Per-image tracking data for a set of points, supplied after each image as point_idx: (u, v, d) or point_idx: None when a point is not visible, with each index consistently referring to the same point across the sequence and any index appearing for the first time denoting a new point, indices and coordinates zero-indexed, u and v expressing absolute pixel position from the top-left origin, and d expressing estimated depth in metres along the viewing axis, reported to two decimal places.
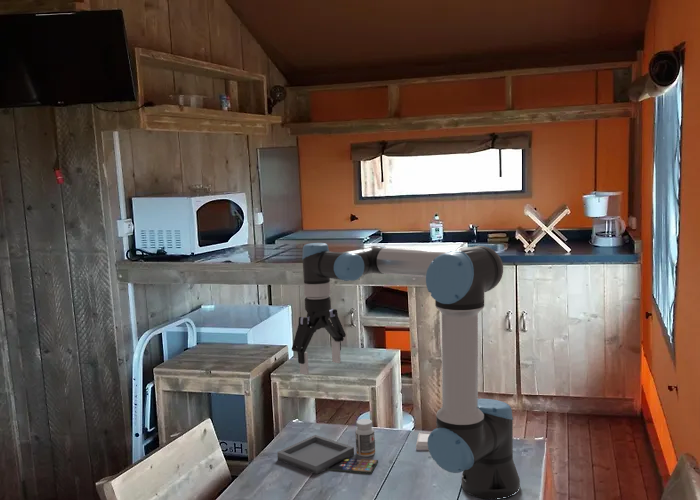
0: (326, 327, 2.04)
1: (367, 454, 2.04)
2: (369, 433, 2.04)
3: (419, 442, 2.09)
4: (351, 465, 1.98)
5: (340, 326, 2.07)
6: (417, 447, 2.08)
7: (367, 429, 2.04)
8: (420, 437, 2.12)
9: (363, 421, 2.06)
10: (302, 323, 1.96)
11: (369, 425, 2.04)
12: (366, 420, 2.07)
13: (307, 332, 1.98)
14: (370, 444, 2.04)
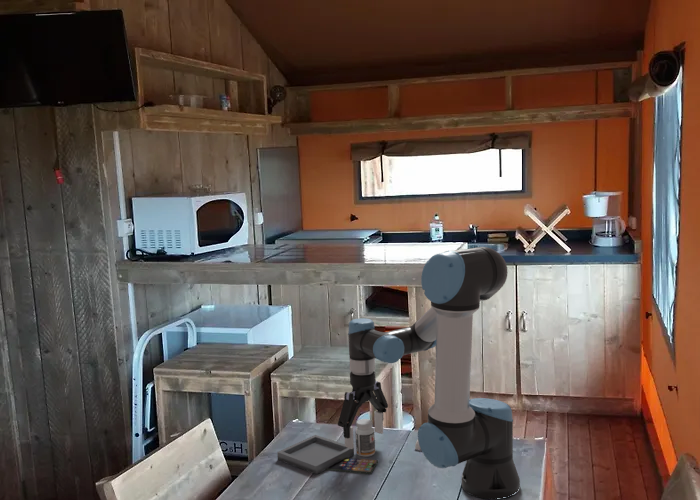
0: (370, 399, 2.08)
1: (367, 454, 2.04)
2: (369, 433, 2.04)
3: (418, 442, 2.09)
4: (351, 465, 1.98)
5: (383, 398, 2.10)
6: (416, 447, 2.08)
7: (367, 429, 2.04)
8: None
9: (363, 421, 2.06)
10: (348, 399, 2.00)
11: (369, 425, 2.04)
12: (366, 420, 2.07)
13: (352, 407, 2.02)
14: (370, 444, 2.04)
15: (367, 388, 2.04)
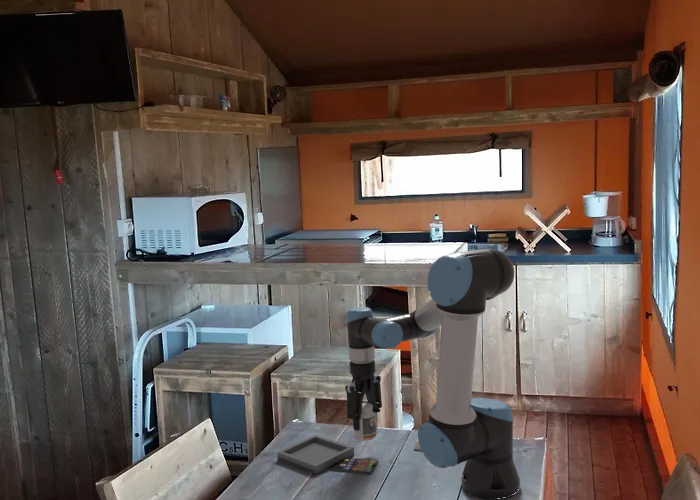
0: (367, 393, 2.06)
1: (368, 438, 2.03)
2: (370, 416, 2.03)
3: (417, 442, 2.09)
4: (351, 465, 1.98)
5: (379, 395, 2.08)
6: (415, 446, 2.09)
7: (367, 412, 2.03)
8: None
9: (363, 405, 2.05)
10: (350, 392, 1.99)
11: (369, 408, 2.03)
12: (366, 404, 2.06)
13: (357, 398, 2.02)
14: (370, 428, 2.03)
15: None
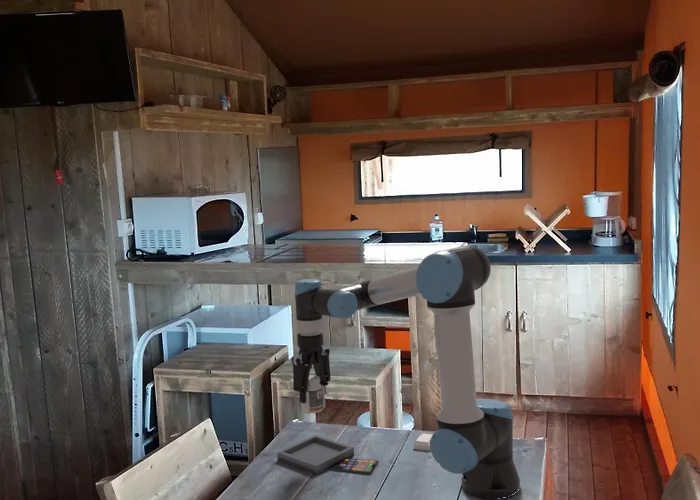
0: (315, 365, 2.04)
1: (314, 410, 2.01)
2: (316, 389, 2.01)
3: (417, 441, 2.09)
4: (351, 465, 1.98)
5: (328, 368, 2.06)
6: (414, 446, 2.09)
7: (314, 385, 2.01)
8: (420, 436, 2.12)
9: (310, 377, 2.03)
10: (296, 364, 1.97)
11: (316, 381, 2.01)
12: (314, 376, 2.03)
13: (303, 371, 2.00)
14: (317, 400, 2.01)
15: None
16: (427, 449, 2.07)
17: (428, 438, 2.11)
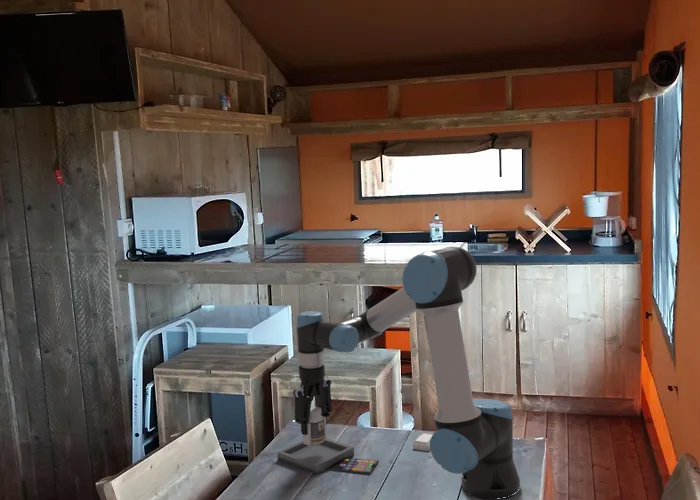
0: (316, 397, 2.05)
1: (316, 442, 2.02)
2: (318, 420, 2.02)
3: (416, 441, 2.09)
4: (351, 465, 1.98)
5: (329, 399, 2.07)
6: (414, 446, 2.09)
7: (315, 416, 2.02)
8: (420, 436, 2.12)
9: (312, 409, 2.04)
10: (298, 397, 1.98)
11: (318, 413, 2.02)
12: (315, 408, 2.05)
13: (305, 403, 2.01)
14: (318, 432, 2.02)
15: None
16: (426, 449, 2.07)
17: (428, 438, 2.11)
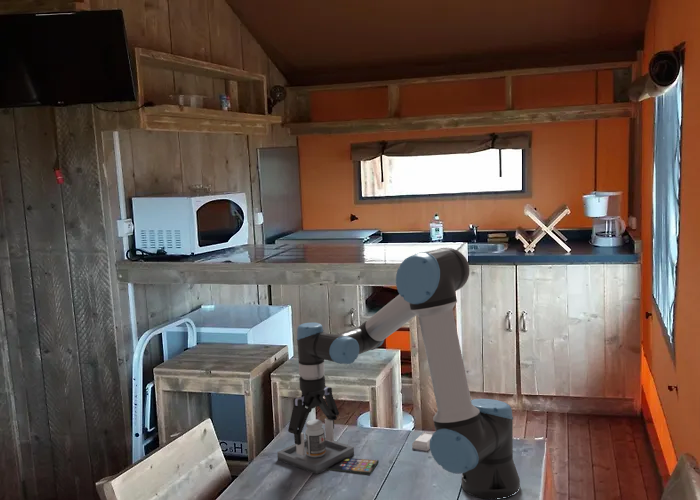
0: (320, 405, 2.06)
1: (317, 455, 2.03)
2: (319, 433, 2.02)
3: (416, 441, 2.09)
4: (351, 465, 1.98)
5: (334, 404, 2.09)
6: (413, 446, 2.09)
7: (316, 429, 2.02)
8: (420, 436, 2.12)
9: (313, 422, 2.04)
10: (297, 405, 1.98)
11: (319, 426, 2.02)
12: (316, 421, 2.05)
13: (302, 412, 2.00)
14: (319, 445, 2.03)
15: (317, 392, 2.03)
16: (425, 449, 2.07)
17: (428, 438, 2.11)
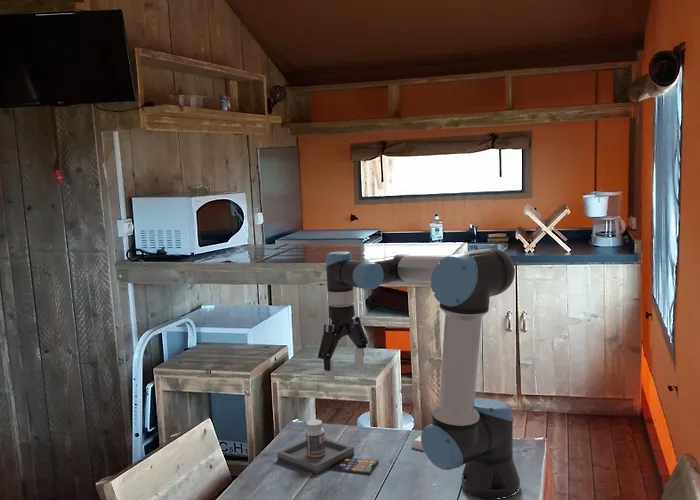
0: (349, 334, 2.07)
1: (317, 455, 2.03)
2: (319, 433, 2.02)
3: (415, 441, 2.10)
4: (351, 465, 1.98)
5: (363, 333, 2.10)
6: (412, 445, 2.10)
7: (316, 429, 2.02)
8: None
9: (313, 422, 2.04)
10: (327, 331, 1.98)
11: (319, 426, 2.02)
12: (316, 421, 2.05)
13: (332, 339, 2.01)
14: (319, 445, 2.03)
15: (346, 321, 2.04)
16: None
17: None
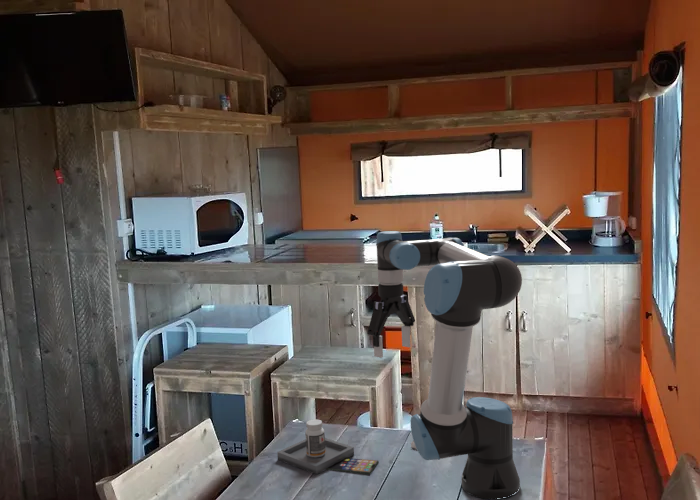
0: (397, 312, 2.12)
1: (317, 455, 2.03)
2: (319, 433, 2.02)
3: None
4: (351, 465, 1.98)
5: (410, 311, 2.15)
6: (412, 445, 2.10)
7: (316, 429, 2.02)
8: None
9: (313, 422, 2.04)
10: (377, 308, 2.04)
11: (319, 426, 2.02)
12: (316, 421, 2.05)
13: (381, 317, 2.06)
14: (319, 445, 2.03)
15: (395, 299, 2.09)
16: None
17: None
